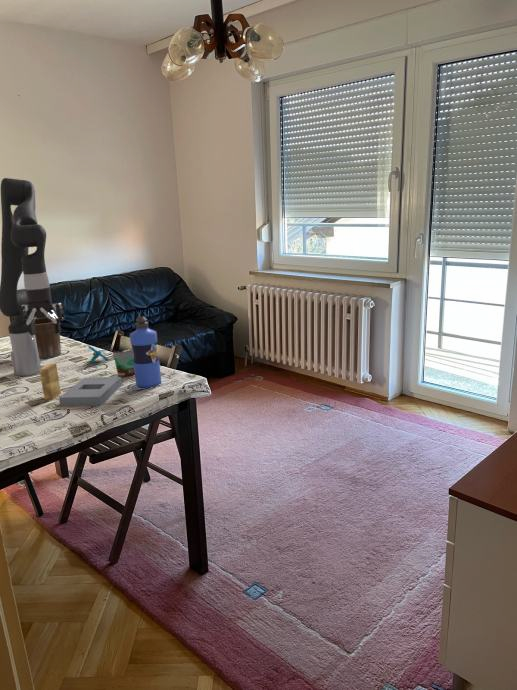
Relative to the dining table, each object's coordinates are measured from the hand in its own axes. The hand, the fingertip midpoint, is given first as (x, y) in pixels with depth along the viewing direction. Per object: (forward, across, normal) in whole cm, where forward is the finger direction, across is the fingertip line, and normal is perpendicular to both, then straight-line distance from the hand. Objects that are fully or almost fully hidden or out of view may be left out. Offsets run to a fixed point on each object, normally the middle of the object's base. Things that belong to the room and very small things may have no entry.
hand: (45, 334), depth 177 cm
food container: (+22, -21, -22) cm, 38 cm away
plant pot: (+22, +28, -53) cm, 64 cm away
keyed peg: (+22, +1, 0) cm, 22 cm away
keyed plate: (+22, -13, 0) cm, 26 cm away
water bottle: (+22, -31, -10) cm, 39 cm away
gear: (+22, -1, -41) cm, 47 cm away
